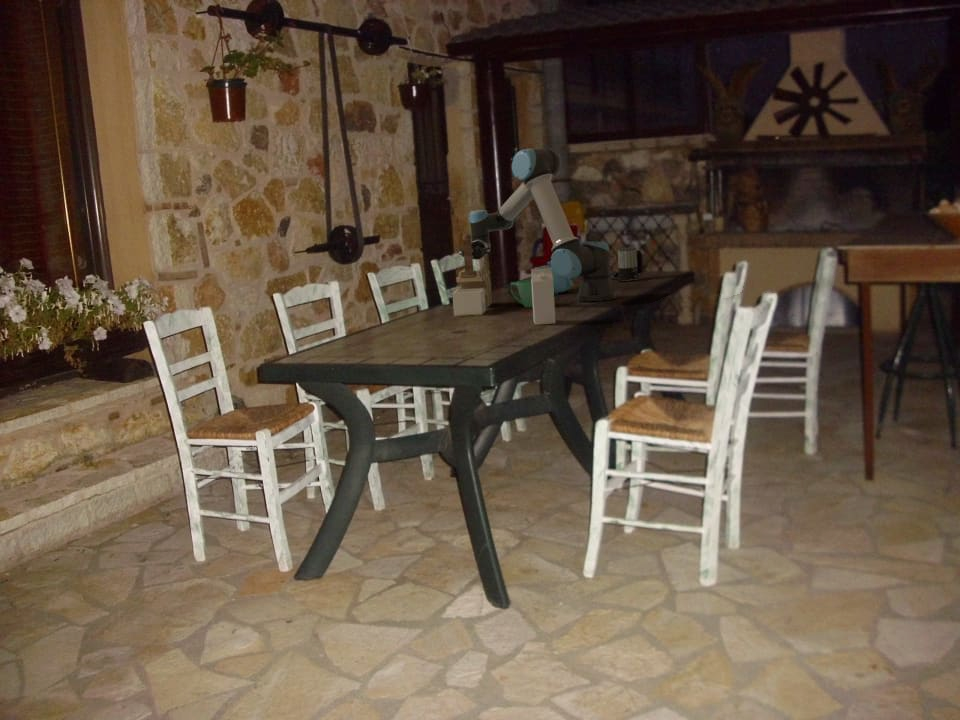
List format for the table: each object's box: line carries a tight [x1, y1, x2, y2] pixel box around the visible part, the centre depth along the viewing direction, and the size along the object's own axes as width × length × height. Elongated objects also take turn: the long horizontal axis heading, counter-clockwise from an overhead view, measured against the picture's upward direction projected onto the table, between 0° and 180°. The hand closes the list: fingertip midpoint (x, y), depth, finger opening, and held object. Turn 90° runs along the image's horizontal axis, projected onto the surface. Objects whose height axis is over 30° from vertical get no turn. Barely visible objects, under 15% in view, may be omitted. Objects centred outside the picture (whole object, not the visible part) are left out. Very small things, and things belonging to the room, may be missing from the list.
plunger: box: [462, 233, 477, 278], centre depth 370 cm, size 4×5×17 cm
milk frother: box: [610, 246, 643, 280], centre depth 439 cm, size 14×16×15 cm
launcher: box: [455, 265, 493, 309], centre depth 382 cm, size 22×10×16 cm, turn 172°
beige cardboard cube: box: [451, 288, 487, 317], centre depth 369 cm, size 11×11×9 cm
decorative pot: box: [533, 261, 574, 295], centre depth 412 cm, size 16×16×14 cm
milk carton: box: [530, 268, 556, 326], centre depth 332 cm, size 7×7×19 cm
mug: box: [507, 279, 533, 308], centre depth 378 cm, size 15×10×10 cm
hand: (468, 255), depth 372 cm, fingers closed
